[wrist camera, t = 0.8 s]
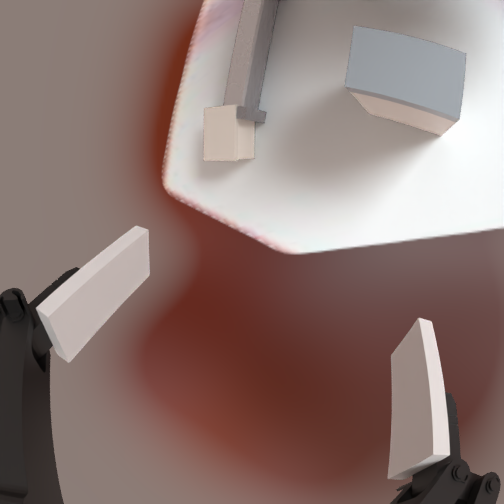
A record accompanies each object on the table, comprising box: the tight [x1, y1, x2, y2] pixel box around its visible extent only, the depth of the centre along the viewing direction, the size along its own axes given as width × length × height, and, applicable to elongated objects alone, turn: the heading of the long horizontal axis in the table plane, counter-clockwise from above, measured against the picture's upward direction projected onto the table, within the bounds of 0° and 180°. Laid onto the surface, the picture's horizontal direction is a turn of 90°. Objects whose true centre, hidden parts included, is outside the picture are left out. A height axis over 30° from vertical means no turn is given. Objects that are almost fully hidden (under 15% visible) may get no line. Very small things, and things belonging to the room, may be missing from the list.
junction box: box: [204, 105, 255, 161], centre depth 33 cm, size 6×4×5 cm
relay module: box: [345, 26, 466, 136], centre depth 19 cm, size 5×8×12 cm, turn 79°
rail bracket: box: [223, 0, 279, 123], centre depth 28 cm, size 19×5×4 cm, turn 169°
